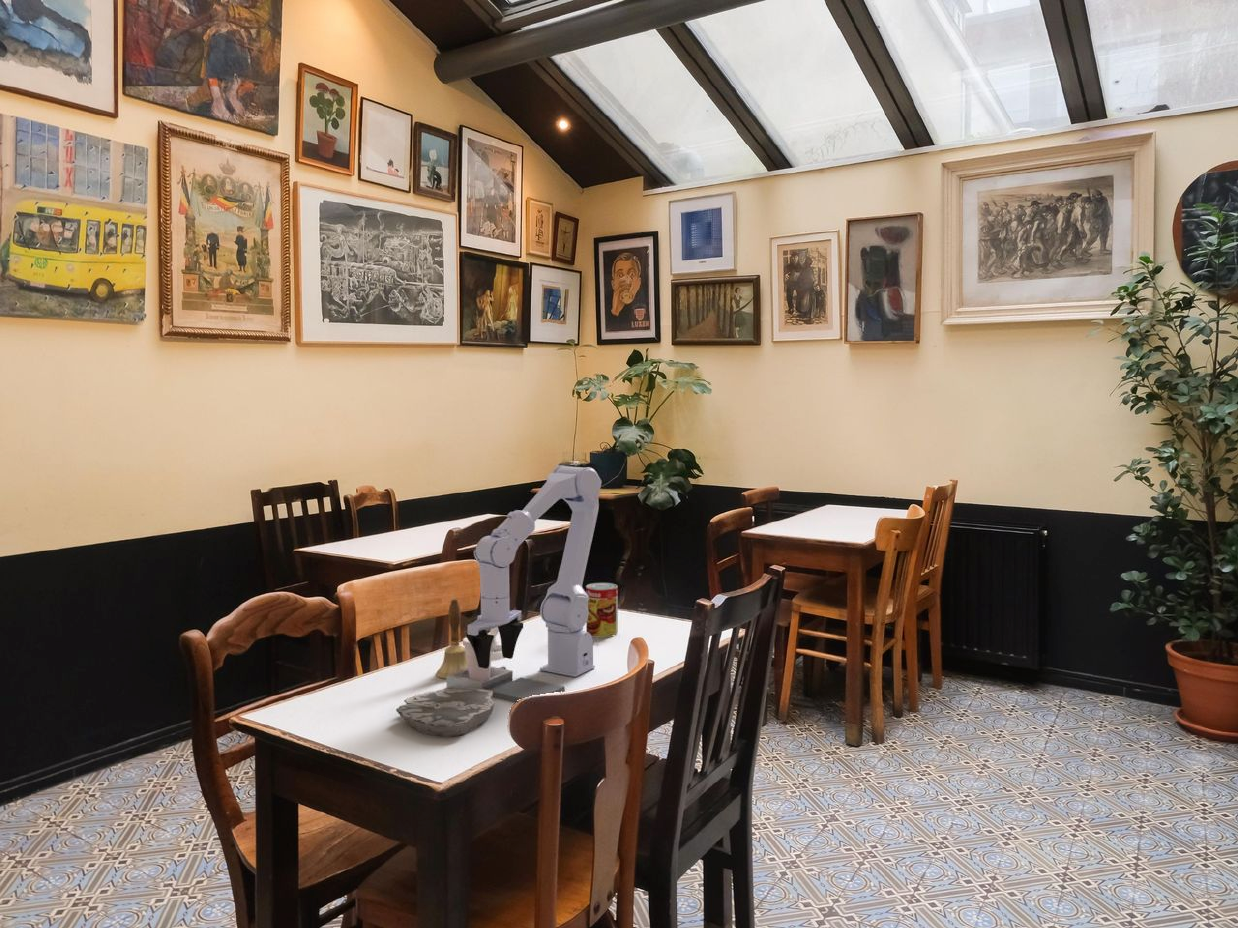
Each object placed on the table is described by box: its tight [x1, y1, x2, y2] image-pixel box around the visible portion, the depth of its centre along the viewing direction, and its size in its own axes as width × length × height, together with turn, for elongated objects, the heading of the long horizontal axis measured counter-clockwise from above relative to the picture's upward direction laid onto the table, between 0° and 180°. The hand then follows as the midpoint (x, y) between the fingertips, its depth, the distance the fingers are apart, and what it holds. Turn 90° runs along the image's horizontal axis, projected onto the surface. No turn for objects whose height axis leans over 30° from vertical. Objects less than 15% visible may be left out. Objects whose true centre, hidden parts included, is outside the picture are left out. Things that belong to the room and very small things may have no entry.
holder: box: [445, 665, 514, 691], centre depth 179 cm, size 10×12×2 cm
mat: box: [491, 677, 566, 703], centre depth 173 cm, size 11×10×1 cm
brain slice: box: [395, 688, 495, 738], centre depth 159 cm, size 20×17×3 cm
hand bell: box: [435, 598, 468, 680], centre depth 185 cm, size 8×8×16 cm
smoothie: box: [462, 617, 494, 681], centre depth 178 cm, size 6×6×14 cm
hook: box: [488, 627, 505, 661], centre depth 198 cm, size 8×12×7 cm
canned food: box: [585, 582, 619, 638], centre depth 218 cm, size 8×8×12 cm
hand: (495, 662), depth 175 cm, fingers open, 7 cm apart
